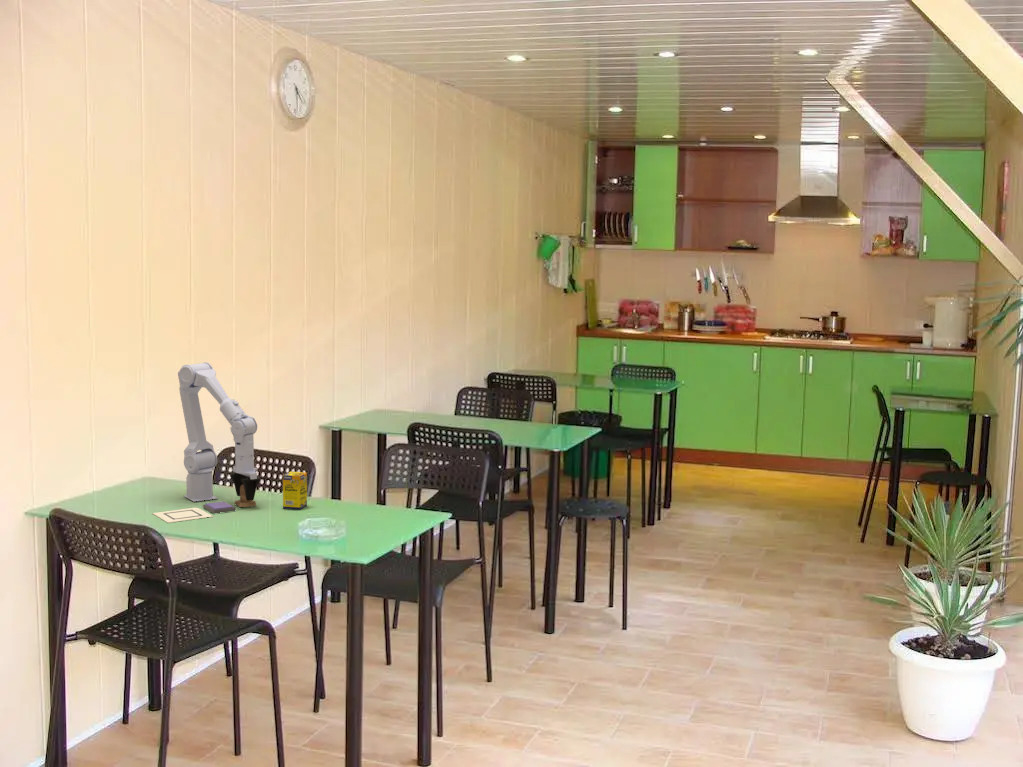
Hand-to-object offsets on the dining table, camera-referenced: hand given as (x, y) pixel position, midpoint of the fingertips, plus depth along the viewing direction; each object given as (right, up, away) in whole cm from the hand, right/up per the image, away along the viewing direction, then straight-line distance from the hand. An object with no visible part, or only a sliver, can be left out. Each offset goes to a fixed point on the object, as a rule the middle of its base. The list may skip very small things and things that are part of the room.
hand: (245, 497), depth 361 cm
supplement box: (+16, -3, -2) cm, 17 cm away
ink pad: (-7, -3, -6) cm, 9 cm away
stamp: (0, -3, 0) cm, 3 cm away
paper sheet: (-16, -4, -13) cm, 21 cm away
